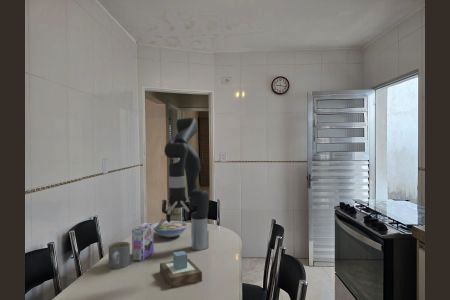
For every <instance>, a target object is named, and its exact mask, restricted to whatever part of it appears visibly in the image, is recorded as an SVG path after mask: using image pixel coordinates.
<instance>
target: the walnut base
mask: <svg viewBox="0 0 450 300" xmlns="http://www.w3.org/2000/svg"><path fill="white" fill-rule="evenodd" d="M159 273H160V274H161V275H162V277H163V279H164V280H165V281H166V283H167V284H168V286H169V288H175V287H179V286H180V287H181V286H184V285H185V286H186V285H189V284H194V283H199V282H202V281H203V271H201V269H200V268H199V267H198V266H197V265H196V264H195V263H194V262H192V260H191V259H190V258H187V268H183V269H177V270H176V268H175V267H174V266H173V260H172V261H171V260H169V261H165V262H160V263H159Z"/></svg>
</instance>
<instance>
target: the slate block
mask: <svg viewBox="0 0 450 300" xmlns="http://www.w3.org/2000/svg"><path fill="white" fill-rule="evenodd" d="M172 256H173V257H172V261H173V266H174V267H175V268H176V270H177V269H183V268H187V259H188V253H186V251H185V250H183V251H175V252H172Z"/></svg>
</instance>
